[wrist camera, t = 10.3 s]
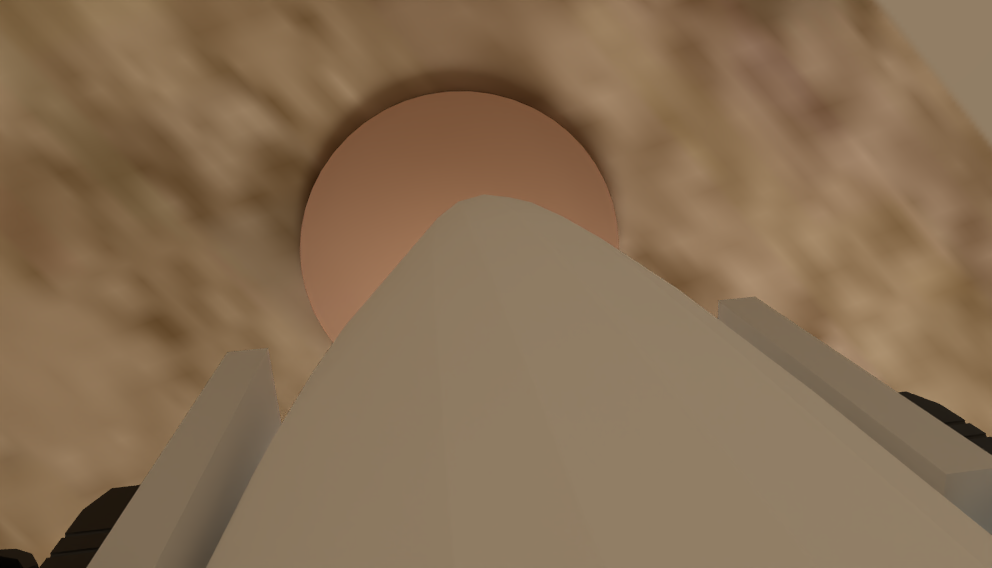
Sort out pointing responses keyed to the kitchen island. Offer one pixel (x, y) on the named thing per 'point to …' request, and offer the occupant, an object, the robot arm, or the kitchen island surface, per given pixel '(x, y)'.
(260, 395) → the robot arm
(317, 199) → the salmon round part
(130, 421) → the kitchen island surface
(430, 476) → the cup
